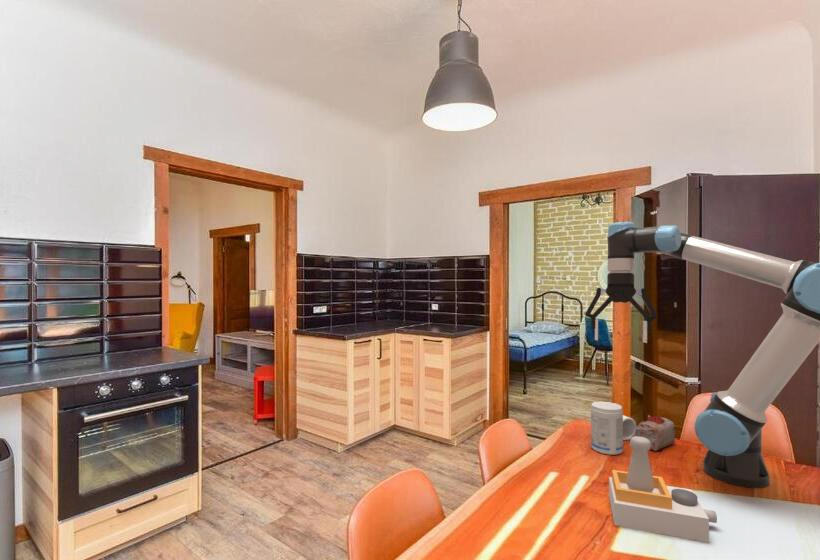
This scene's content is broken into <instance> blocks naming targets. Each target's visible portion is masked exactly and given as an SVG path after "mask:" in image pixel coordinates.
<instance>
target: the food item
mask: <svg viewBox="0 0 820 560" xmlns="http://www.w3.org/2000/svg"><path fill="white" fill-rule="evenodd" d="M635 430H636V433H635V435H634V436H639V437H644V438H647V439H648V440H649V441H650V443H651V447H650V450H651V451H654V452H657V451H659V450H661V449H663V448H665V447H668V446H670V445H673V444H675V442H676V440H675V439H676V438H675V437H676V436H675V422H673V421H672V420H671V419H668V418H665V417H660V416H651V415H650V414H648V415H647V420H646V421H645V420H643V421H641V422H639V423H638V425H636V428H635ZM650 450H649V451H650Z"/></svg>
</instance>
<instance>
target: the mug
mask: <svg viewBox="0 0 820 560" xmlns="http://www.w3.org/2000/svg"><path fill="white" fill-rule="evenodd" d="M635 428H637V423H636V421H635V420H634V418H632V417H629V416H626V415H625V414H623V441H626V440H627V441H630V440H631V438H632V437H634V436H635V433H636V430H635Z"/></svg>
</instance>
